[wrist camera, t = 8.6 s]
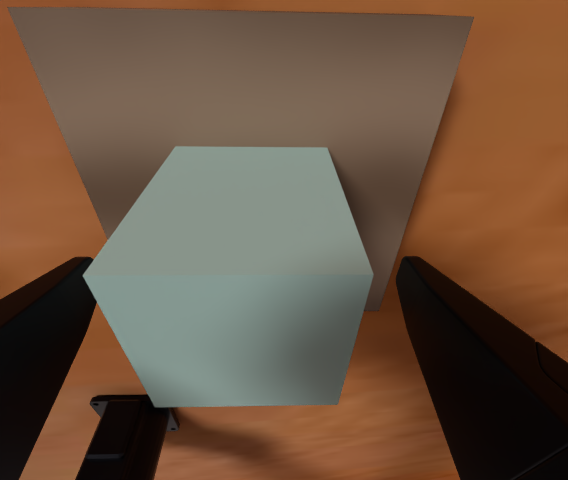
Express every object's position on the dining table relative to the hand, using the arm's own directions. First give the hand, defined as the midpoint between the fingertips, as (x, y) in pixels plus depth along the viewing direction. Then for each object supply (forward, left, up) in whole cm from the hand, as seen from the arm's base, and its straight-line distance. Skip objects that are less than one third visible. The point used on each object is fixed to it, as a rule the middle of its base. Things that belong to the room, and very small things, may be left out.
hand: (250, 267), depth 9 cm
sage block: (0, 0, -3) cm, 3 cm away
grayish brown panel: (0, 0, -6) cm, 6 cm away
